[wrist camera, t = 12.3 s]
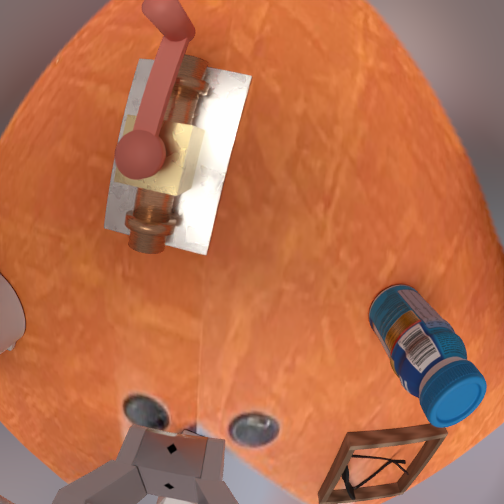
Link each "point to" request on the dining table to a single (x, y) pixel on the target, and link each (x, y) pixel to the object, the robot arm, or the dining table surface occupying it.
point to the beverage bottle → (427, 355)
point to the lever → (155, 92)
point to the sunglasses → (351, 490)
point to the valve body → (180, 160)
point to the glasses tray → (377, 440)
